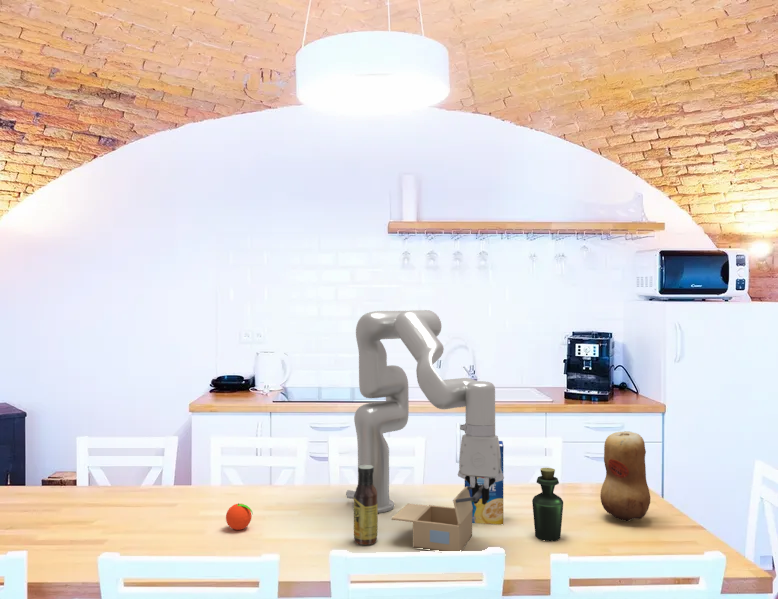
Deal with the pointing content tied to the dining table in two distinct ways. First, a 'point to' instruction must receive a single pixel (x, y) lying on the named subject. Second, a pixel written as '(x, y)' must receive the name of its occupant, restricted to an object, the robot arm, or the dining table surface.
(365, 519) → the sauce bottle
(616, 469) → the butternut squash
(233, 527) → the clementine
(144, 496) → the dining table surface
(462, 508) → the flap
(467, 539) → the carton
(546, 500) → the potion bottle
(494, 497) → the beverage box
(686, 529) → the dining table surface
